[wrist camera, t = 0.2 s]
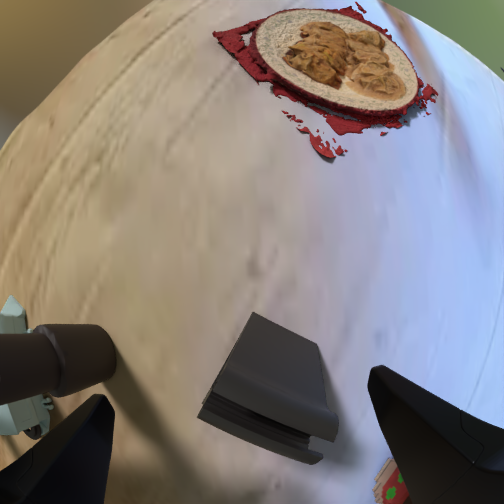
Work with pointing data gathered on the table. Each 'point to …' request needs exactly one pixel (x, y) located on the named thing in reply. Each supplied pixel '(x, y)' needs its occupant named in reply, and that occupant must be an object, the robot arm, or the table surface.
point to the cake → (390, 485)
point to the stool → (46, 367)
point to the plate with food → (331, 67)
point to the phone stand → (272, 392)
